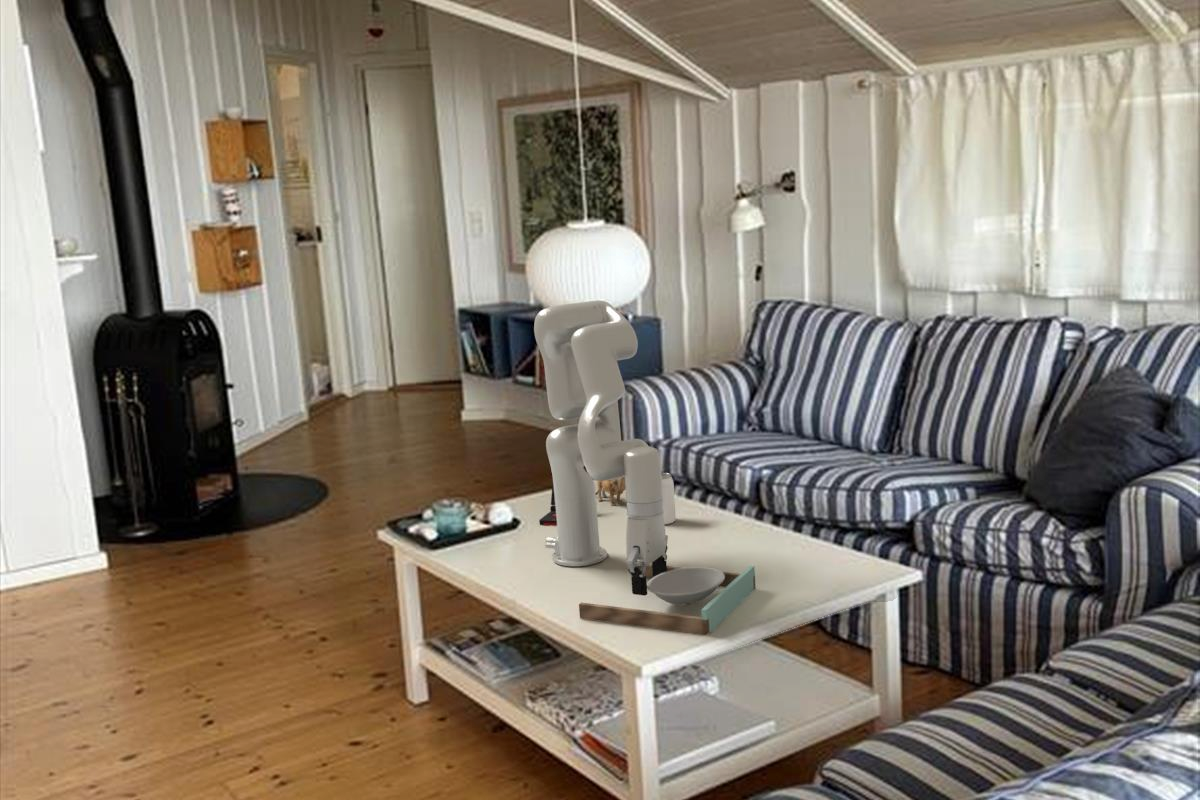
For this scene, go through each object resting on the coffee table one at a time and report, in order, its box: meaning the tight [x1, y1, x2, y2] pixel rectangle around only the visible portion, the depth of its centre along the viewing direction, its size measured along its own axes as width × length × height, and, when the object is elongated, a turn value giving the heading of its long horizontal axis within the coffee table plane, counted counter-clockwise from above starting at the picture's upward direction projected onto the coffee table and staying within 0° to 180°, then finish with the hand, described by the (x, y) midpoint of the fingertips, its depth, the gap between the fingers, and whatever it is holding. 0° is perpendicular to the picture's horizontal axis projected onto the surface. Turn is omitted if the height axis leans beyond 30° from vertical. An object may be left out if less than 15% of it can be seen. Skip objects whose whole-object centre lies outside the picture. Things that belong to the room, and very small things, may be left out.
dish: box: [647, 566, 725, 606], centre depth 249 cm, size 18×14×5 cm
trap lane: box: [578, 563, 756, 635], centre depth 250 cm, size 28×26×5 cm
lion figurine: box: [595, 477, 626, 507], centre depth 326 cm, size 15×5×9 cm, turn 39°
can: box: [661, 472, 677, 526], centre depth 305 cm, size 6×6×12 cm
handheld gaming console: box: [539, 482, 557, 527], centre depth 314 cm, size 9×12×10 cm
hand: (650, 586), depth 252 cm, fingers open, 9 cm apart
